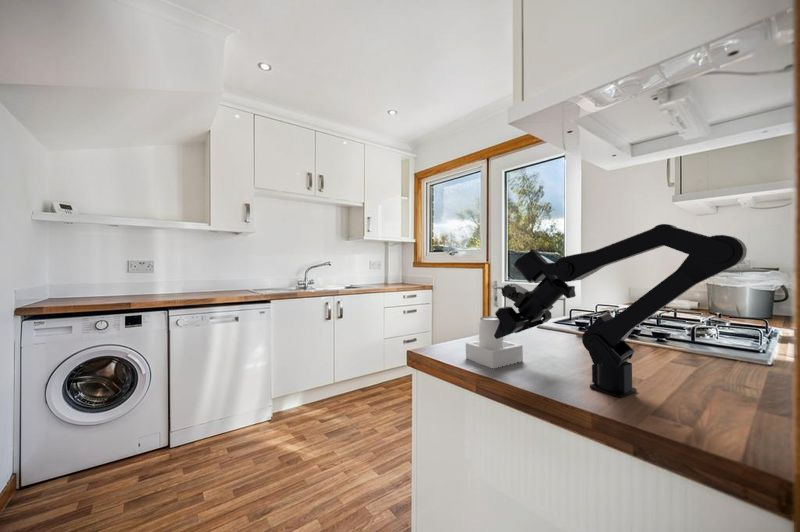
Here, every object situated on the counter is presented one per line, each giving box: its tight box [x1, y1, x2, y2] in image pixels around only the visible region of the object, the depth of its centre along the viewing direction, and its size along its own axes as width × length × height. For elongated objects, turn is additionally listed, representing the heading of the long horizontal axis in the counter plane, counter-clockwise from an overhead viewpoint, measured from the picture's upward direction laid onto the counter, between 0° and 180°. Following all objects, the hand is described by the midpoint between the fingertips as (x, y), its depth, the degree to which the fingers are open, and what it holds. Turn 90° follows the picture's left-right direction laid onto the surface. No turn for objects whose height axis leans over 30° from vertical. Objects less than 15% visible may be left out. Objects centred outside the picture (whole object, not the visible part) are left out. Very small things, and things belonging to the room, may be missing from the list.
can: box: [478, 315, 504, 350], centre depth 93 cm, size 6×6×12 cm
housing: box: [465, 339, 524, 370], centre depth 94 cm, size 11×11×4 cm
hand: (505, 334), depth 91 cm, fingers open, 9 cm apart
